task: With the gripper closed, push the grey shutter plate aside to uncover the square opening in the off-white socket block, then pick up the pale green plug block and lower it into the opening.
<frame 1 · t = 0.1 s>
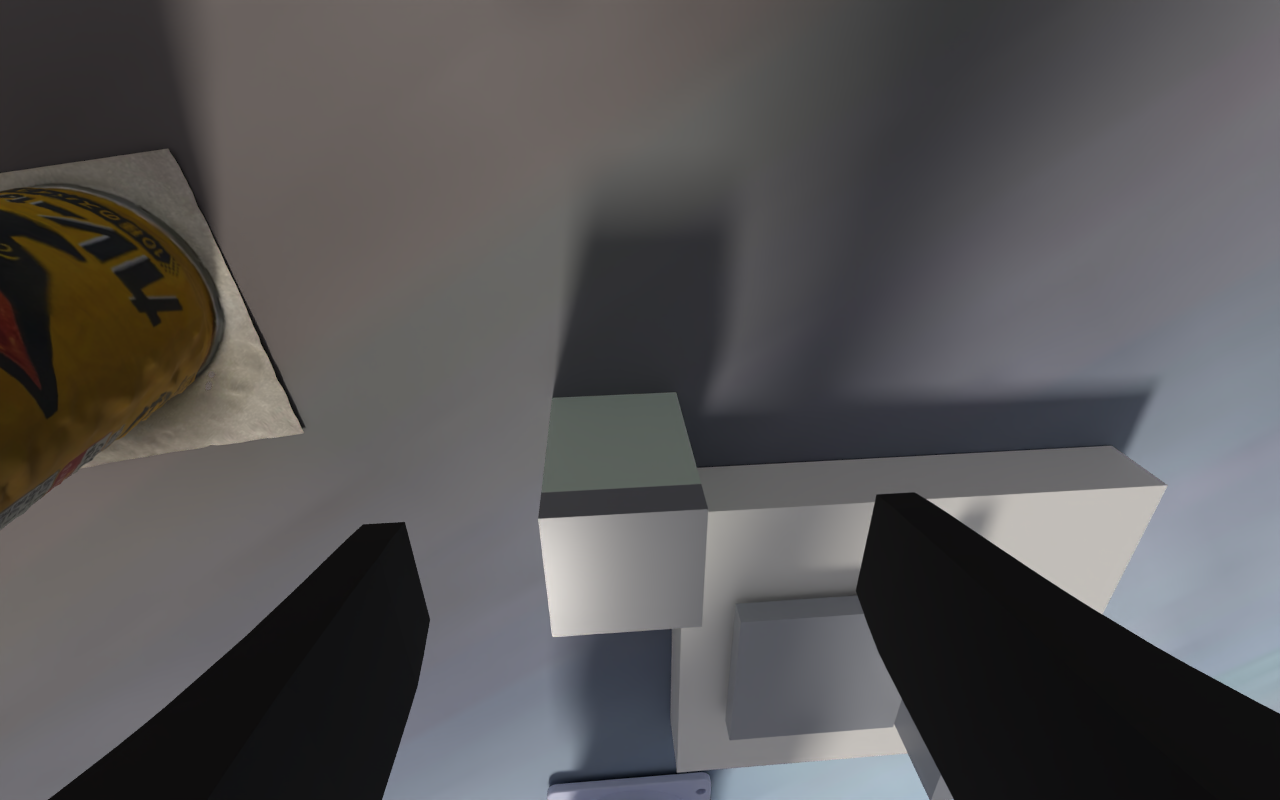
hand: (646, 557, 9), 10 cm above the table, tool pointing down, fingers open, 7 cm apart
condiment: (126, 321, 17), on the table
plug: (616, 446, 20), on the table
socket: (865, 598, 25), on the table
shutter: (847, 703, 21), point 5 cm above the table, slide at 0.0 cm
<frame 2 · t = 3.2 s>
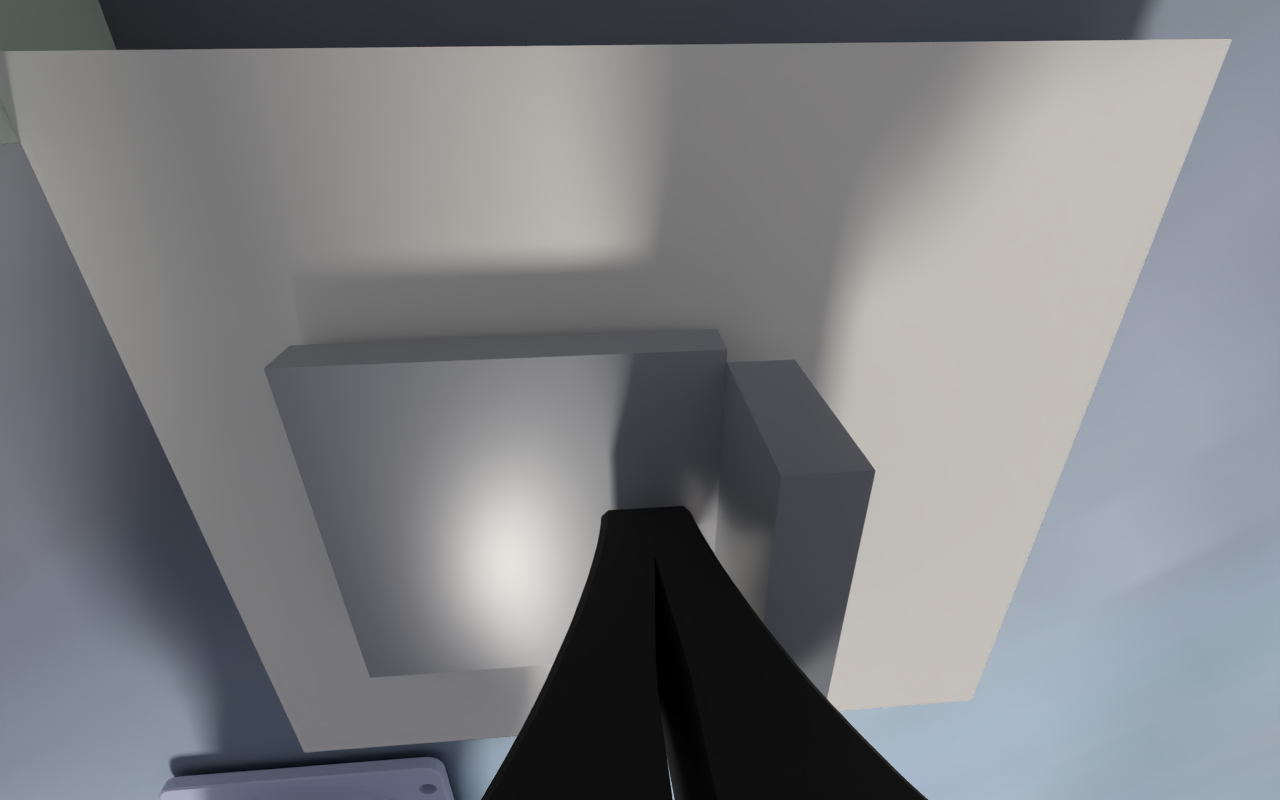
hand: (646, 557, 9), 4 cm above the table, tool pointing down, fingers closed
socket: (638, 422, 13), on the table
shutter: (551, 578, 9), point 4 cm above the table, slide at 0.9 cm, touching gripper
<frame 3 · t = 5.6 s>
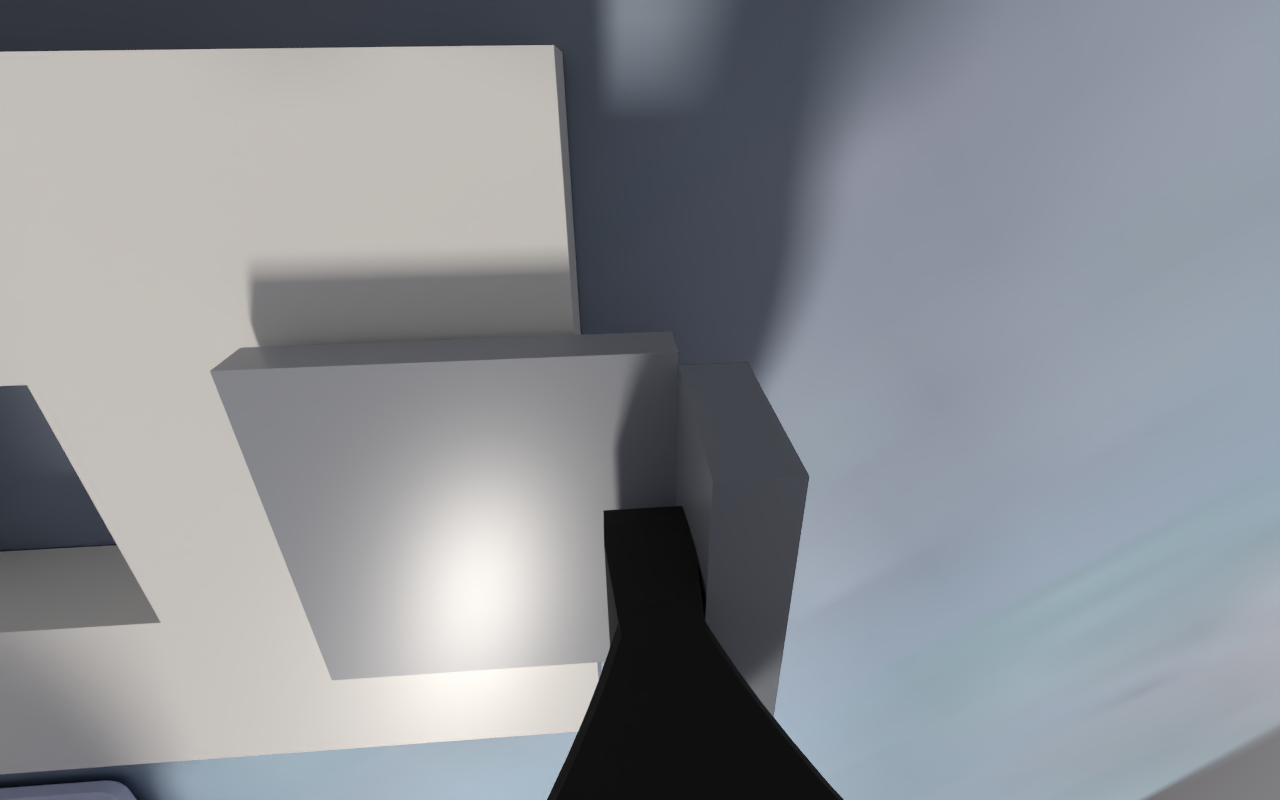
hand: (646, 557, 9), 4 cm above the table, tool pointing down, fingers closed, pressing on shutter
socket: (204, 442, 13), on the table
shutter: (504, 582, 9), point 5 cm above the table, slide at 9.3 cm, touching gripper
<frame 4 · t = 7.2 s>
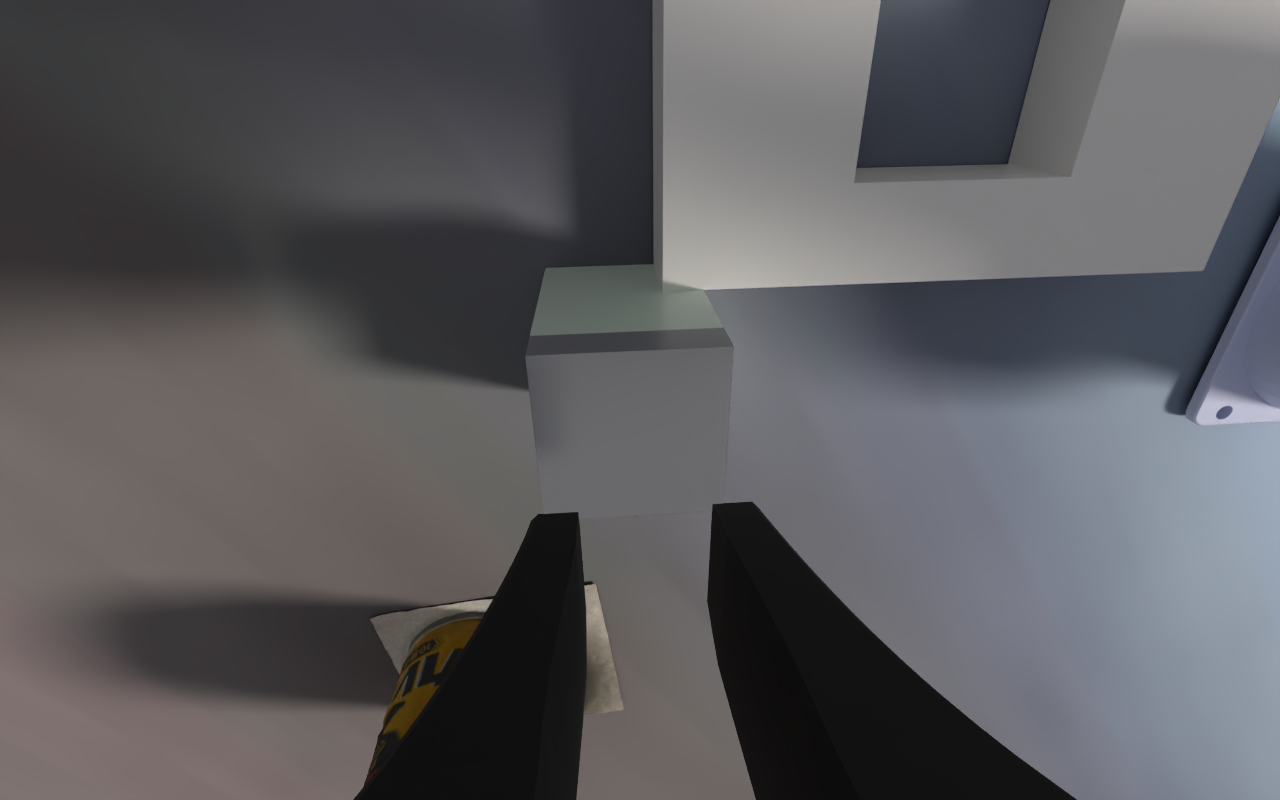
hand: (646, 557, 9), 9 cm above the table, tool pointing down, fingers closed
condiment: (507, 657, 24), on the table
plug: (619, 331, 18), on the table
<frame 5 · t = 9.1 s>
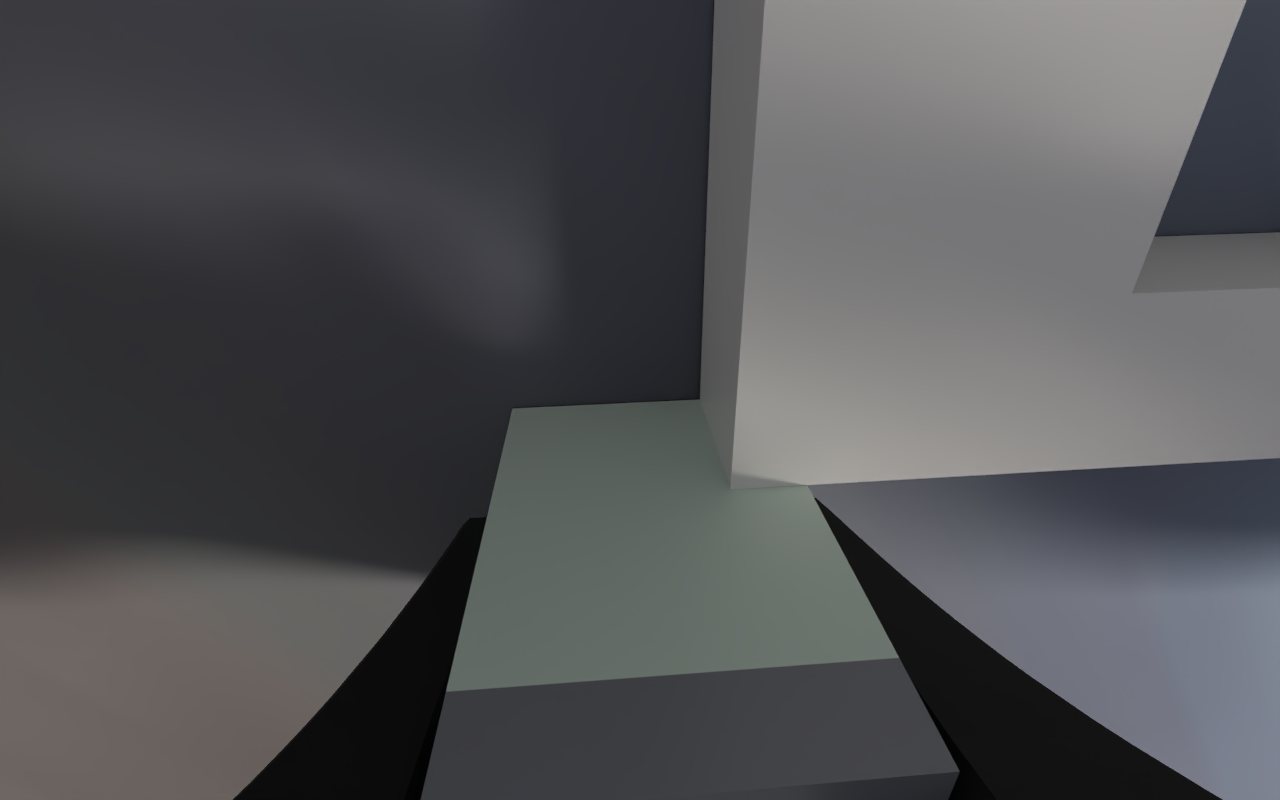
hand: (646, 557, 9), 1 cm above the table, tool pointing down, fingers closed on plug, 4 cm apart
plug: (639, 501, 11), on the table, touching gripper
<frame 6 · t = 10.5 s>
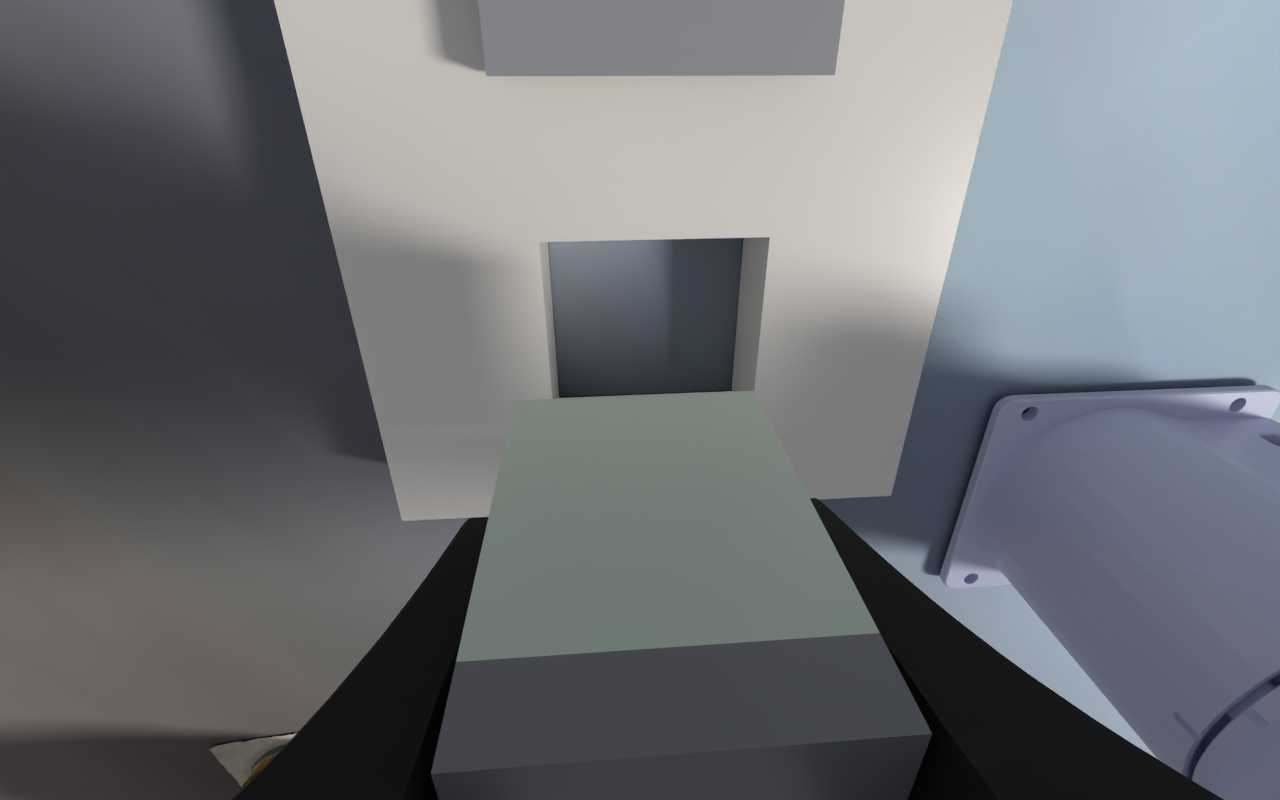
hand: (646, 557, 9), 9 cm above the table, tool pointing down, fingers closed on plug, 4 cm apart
condiment: (348, 774, 26), on the table
plug: (636, 491, 11), point 7 cm above the table, touching gripper
socket: (646, 201, 15), on the table
when the fingers open (3 cm above the table, at t = 12.1 s): plug drops 1 cm, resting in socket.
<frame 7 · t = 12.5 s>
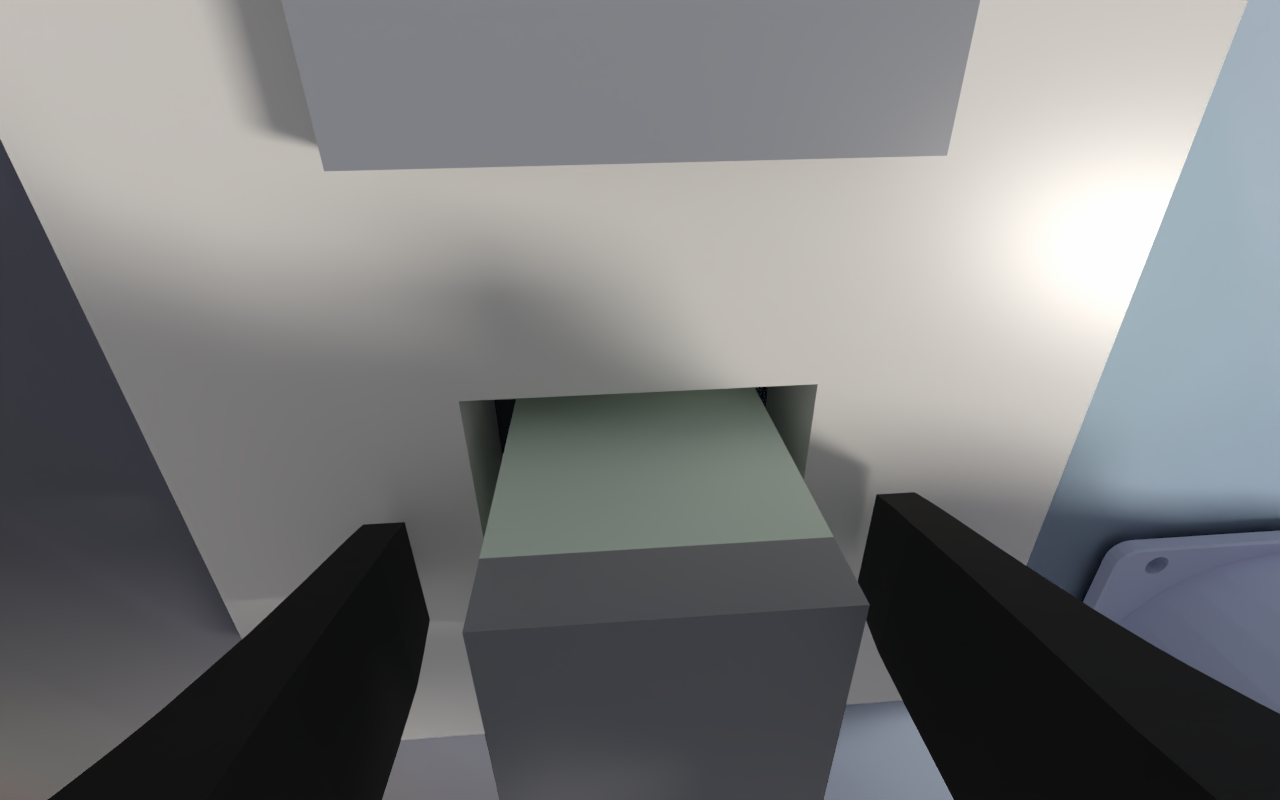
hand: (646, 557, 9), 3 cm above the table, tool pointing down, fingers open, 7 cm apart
plug: (634, 451, 12), resting in socket
socket: (630, 309, 11), on the table
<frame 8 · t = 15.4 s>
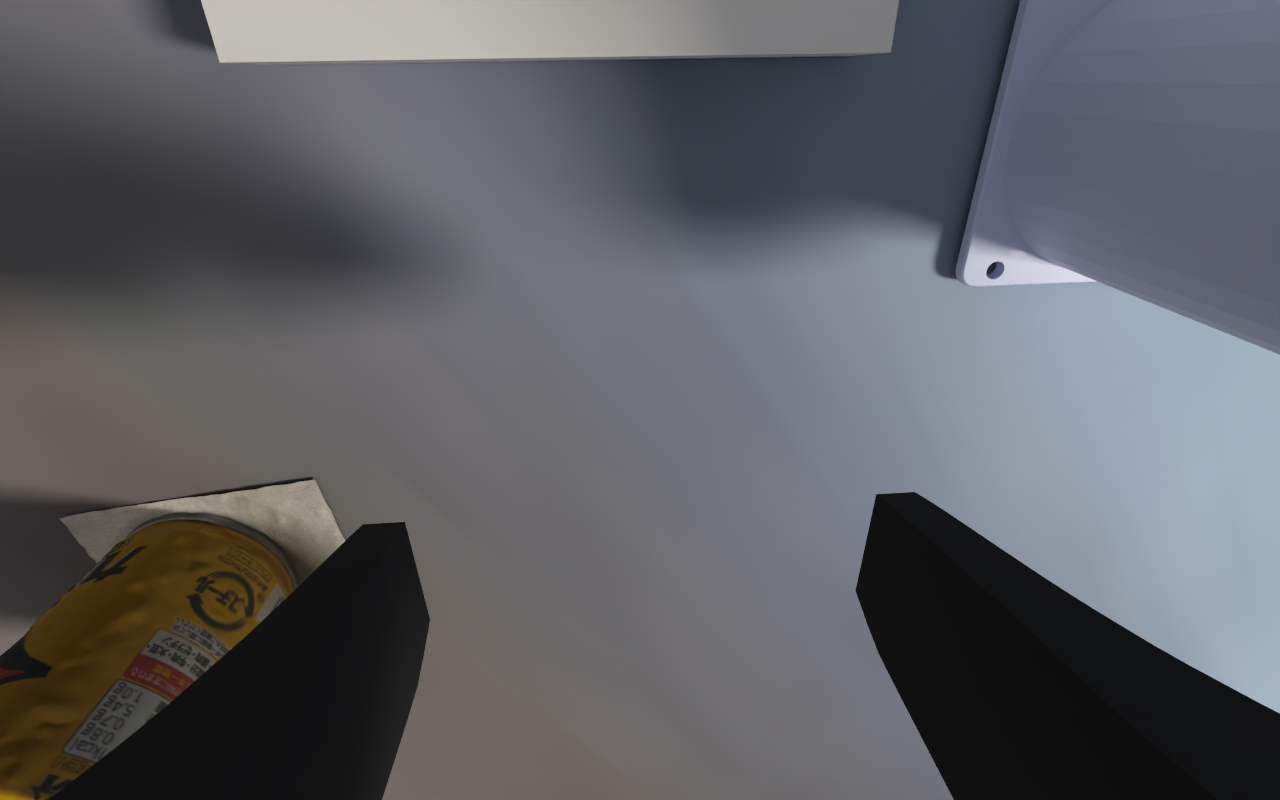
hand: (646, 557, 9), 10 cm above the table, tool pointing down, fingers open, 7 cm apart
condiment: (242, 571, 22), on the table
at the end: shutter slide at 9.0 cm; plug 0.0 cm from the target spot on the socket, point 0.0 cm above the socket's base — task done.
